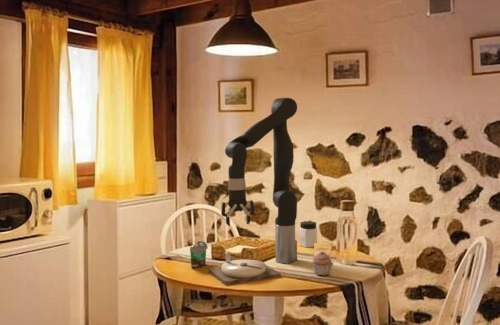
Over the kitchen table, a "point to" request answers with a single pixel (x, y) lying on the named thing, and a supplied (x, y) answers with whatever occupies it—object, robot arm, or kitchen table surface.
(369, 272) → the kitchen table surface
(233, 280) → the board
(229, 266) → the dial
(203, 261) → the food container
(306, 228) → the jar
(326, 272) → the cupcake
